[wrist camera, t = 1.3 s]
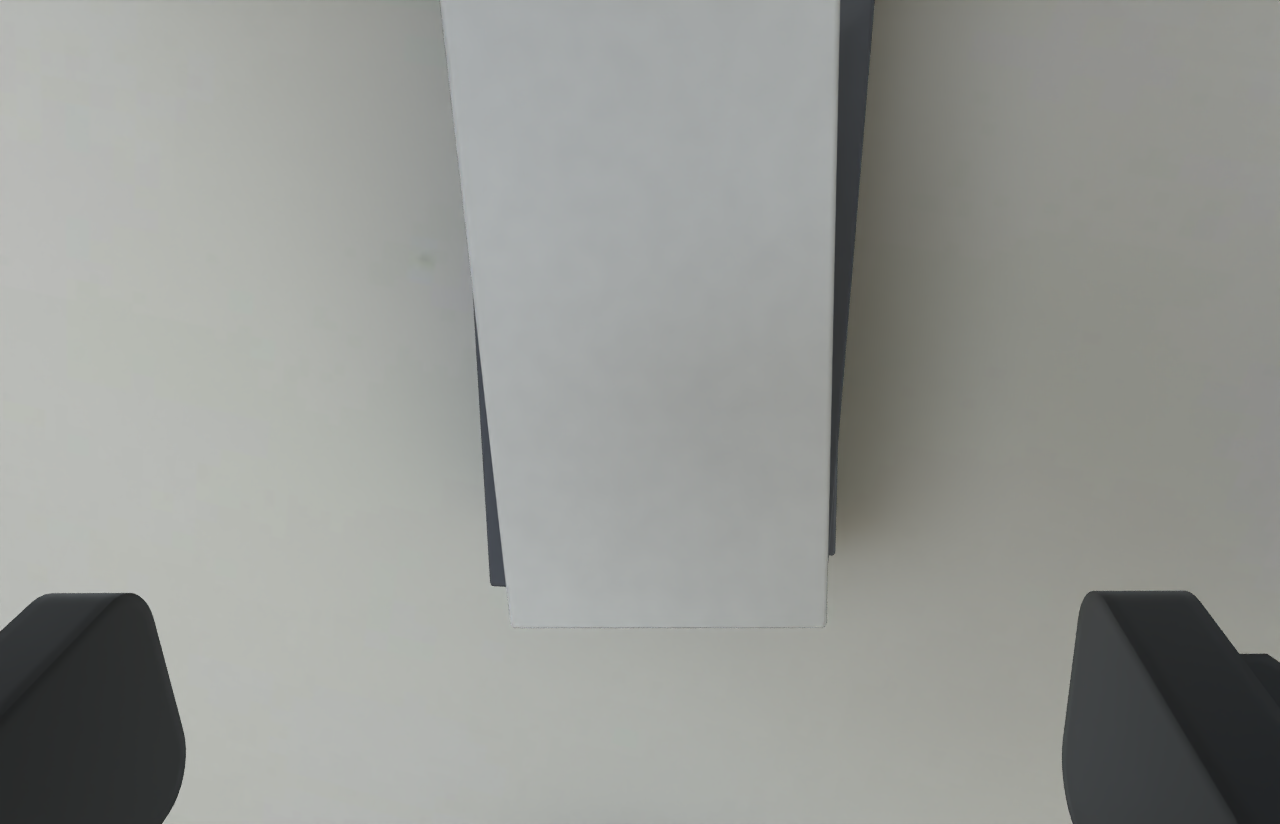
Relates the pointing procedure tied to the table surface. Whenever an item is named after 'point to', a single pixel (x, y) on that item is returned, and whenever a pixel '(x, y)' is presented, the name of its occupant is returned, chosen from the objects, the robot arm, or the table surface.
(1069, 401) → the table surface
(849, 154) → the grey book pile
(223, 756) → the table surface
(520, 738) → the table surface
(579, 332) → the white flat block
